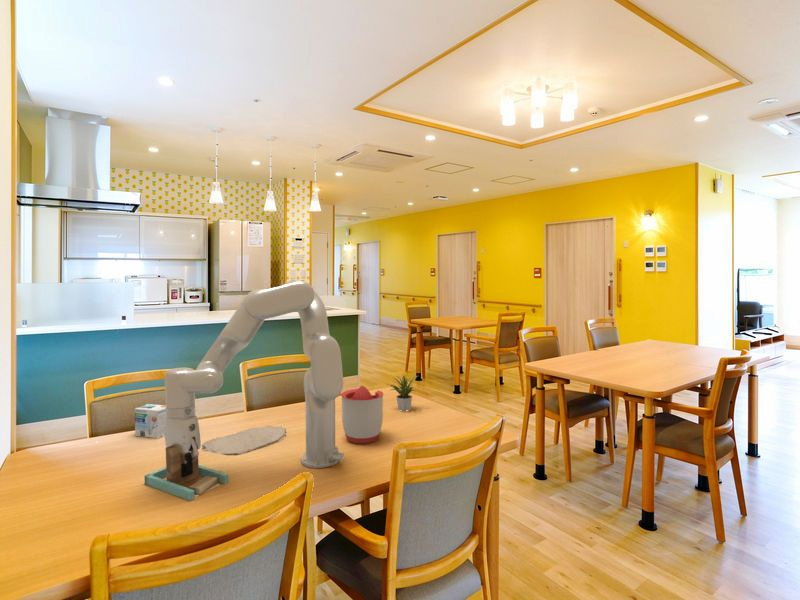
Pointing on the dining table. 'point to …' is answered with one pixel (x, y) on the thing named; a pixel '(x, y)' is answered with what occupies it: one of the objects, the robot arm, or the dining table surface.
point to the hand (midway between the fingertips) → (183, 473)
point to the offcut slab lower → (207, 490)
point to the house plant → (403, 393)
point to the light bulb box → (150, 420)
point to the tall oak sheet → (178, 466)
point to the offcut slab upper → (203, 485)
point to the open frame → (178, 490)
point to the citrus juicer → (362, 415)
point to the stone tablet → (245, 440)
